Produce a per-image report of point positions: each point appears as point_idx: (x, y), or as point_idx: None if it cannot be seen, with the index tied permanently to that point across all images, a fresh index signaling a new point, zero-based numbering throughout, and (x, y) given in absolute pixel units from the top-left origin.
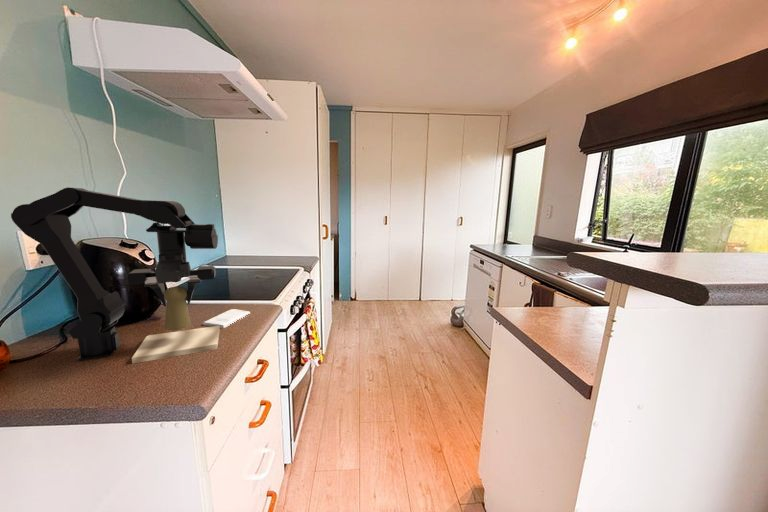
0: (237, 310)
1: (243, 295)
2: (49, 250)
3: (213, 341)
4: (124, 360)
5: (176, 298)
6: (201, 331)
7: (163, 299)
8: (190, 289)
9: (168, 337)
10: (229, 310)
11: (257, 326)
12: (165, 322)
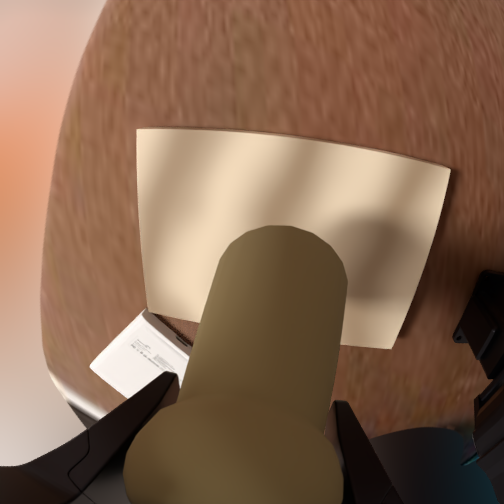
0: (125, 393)
1: None
2: None
3: (149, 163)
4: (459, 211)
5: (220, 413)
6: (205, 293)
7: (350, 451)
8: (73, 463)
9: None
10: None
11: (52, 261)
12: (342, 295)
